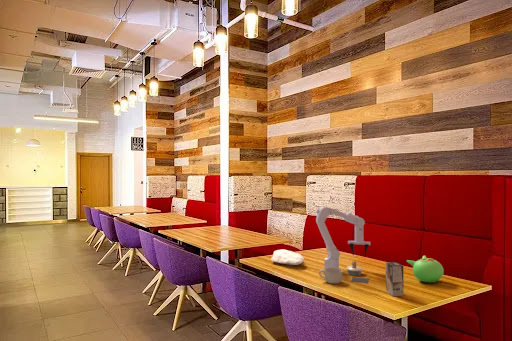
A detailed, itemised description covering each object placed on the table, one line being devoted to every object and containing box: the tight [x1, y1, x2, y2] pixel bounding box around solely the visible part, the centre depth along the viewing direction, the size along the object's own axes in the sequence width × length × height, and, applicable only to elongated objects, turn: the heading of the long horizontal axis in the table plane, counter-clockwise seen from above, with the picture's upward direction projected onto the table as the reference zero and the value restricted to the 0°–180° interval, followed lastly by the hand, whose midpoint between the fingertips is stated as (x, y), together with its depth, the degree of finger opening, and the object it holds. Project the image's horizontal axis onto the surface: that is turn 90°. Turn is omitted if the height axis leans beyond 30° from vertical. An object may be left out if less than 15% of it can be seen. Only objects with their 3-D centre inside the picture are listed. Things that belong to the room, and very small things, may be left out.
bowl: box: [347, 270, 362, 277], centre depth 242 cm, size 8×8×4 cm
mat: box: [350, 276, 370, 284], centre depth 227 cm, size 10×11×1 cm
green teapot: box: [406, 255, 445, 283], centre depth 225 cm, size 18×17×15 cm
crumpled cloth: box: [270, 248, 305, 266], centre depth 273 cm, size 24×35×9 cm
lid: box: [345, 260, 363, 272], centre depth 241 cm, size 10×10×5 cm
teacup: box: [318, 267, 343, 285], centre depth 223 cm, size 14×11×8 cm
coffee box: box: [385, 261, 405, 297], centre depth 203 cm, size 9×6×16 cm
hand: (359, 255), depth 251 cm, fingers open, 7 cm apart
